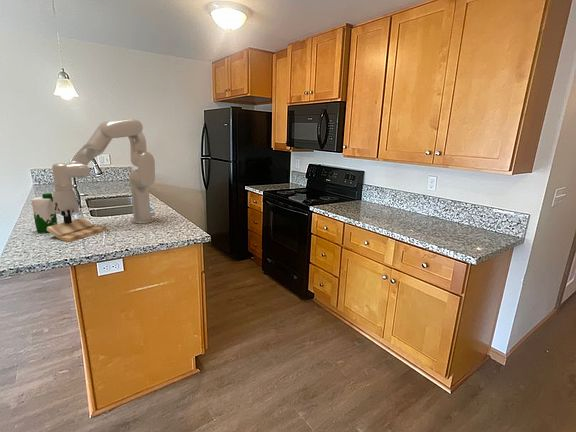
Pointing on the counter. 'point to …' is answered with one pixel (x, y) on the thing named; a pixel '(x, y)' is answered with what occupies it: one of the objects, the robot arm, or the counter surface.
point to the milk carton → (44, 212)
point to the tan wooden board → (69, 227)
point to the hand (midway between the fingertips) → (68, 223)
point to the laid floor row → (82, 233)
